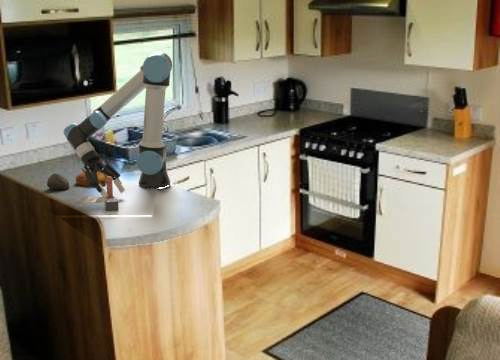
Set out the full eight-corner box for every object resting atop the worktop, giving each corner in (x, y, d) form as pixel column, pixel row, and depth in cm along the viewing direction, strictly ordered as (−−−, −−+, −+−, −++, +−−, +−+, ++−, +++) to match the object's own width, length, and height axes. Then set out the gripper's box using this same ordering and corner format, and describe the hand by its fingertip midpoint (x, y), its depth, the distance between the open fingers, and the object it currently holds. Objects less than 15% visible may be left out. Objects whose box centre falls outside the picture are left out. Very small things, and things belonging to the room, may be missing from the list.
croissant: (92, 194, 293) (93, 178, 290) (69, 184, 300) (70, 169, 297) (114, 186, 305) (115, 171, 302) (92, 177, 312) (92, 162, 309)
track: (115, 198, 280) (115, 196, 280) (113, 204, 272) (113, 202, 272) (80, 198, 279) (79, 196, 278) (76, 204, 271) (76, 202, 271)
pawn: (114, 198, 278) (113, 175, 275) (113, 200, 274) (112, 177, 271) (106, 198, 277) (105, 175, 274) (105, 200, 274) (104, 177, 271)
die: (117, 208, 267) (116, 197, 265) (118, 212, 262) (118, 201, 261) (105, 209, 265) (104, 198, 264) (106, 213, 261) (106, 202, 259)
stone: (68, 193, 299) (55, 177, 300) (75, 183, 294) (61, 168, 294) (53, 201, 291) (39, 185, 292) (60, 191, 286) (46, 175, 287)
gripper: (102, 154, 288) (128, 192, 284) (64, 164, 270) (92, 205, 266) (109, 145, 284) (136, 183, 280) (72, 154, 266) (100, 195, 262)
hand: (114, 194), depth 273 cm, fingers open, 10 cm apart
